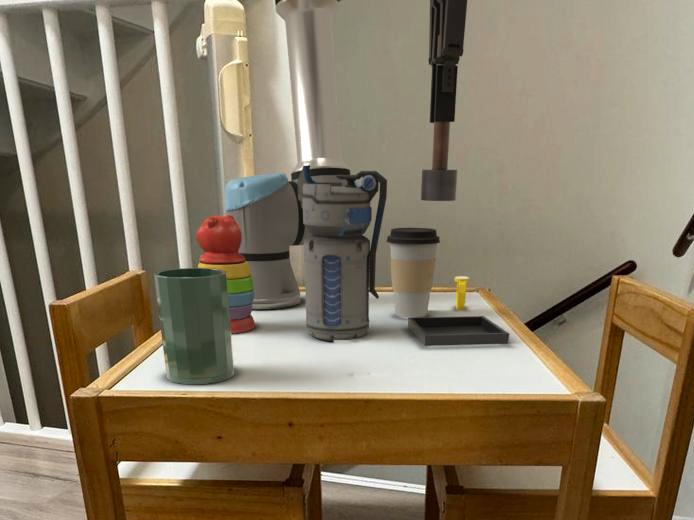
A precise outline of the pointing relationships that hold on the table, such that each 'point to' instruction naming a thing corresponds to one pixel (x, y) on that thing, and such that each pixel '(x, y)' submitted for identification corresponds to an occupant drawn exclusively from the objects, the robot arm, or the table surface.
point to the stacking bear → (229, 266)
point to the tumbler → (195, 324)
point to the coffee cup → (412, 269)
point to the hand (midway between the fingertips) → (441, 121)
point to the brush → (439, 166)
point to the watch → (461, 291)
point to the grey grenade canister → (340, 252)
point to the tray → (457, 330)
